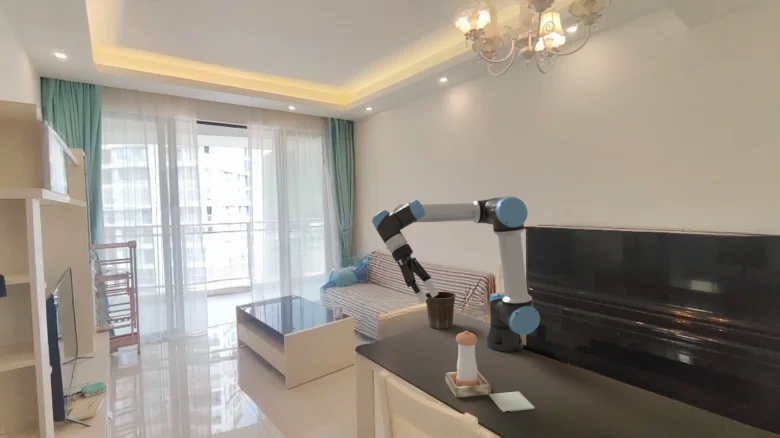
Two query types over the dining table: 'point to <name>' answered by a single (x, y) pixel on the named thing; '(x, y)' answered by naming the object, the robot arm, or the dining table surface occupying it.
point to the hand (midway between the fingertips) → (430, 298)
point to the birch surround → (468, 390)
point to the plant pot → (440, 310)
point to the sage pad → (511, 401)
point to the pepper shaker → (466, 360)
